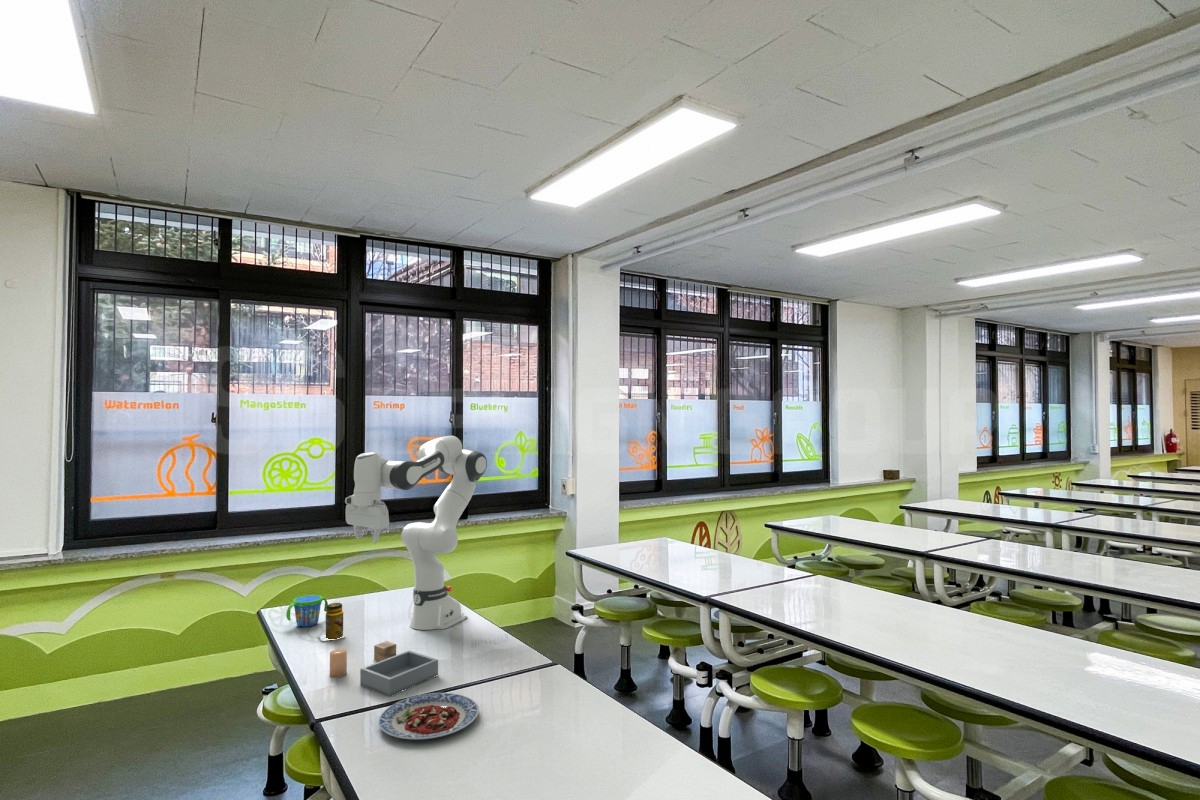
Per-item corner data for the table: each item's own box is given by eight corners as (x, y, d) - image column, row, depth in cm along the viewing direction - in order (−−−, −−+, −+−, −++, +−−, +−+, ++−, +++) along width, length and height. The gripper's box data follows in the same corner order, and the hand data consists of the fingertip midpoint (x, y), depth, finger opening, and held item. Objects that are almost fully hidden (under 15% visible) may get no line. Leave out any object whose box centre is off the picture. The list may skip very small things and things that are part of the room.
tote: (409, 665, 209) (409, 650, 209) (438, 675, 201) (438, 659, 201) (360, 685, 194) (360, 668, 194) (389, 696, 186) (389, 679, 186)
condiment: (346, 638, 235) (346, 605, 235) (321, 643, 230) (321, 609, 230) (341, 632, 241) (341, 600, 241) (317, 637, 236) (317, 604, 236)
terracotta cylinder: (340, 669, 206) (340, 647, 206) (350, 673, 203) (350, 651, 203) (326, 675, 202) (326, 652, 202) (335, 679, 199) (335, 656, 199)
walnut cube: (386, 655, 218) (386, 641, 218) (396, 659, 215) (396, 644, 215) (374, 660, 214) (374, 645, 214) (383, 663, 211) (383, 648, 211)
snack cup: (322, 617, 259) (322, 591, 259) (333, 623, 252) (333, 597, 252) (281, 626, 248) (281, 599, 248) (291, 632, 241) (291, 605, 241)
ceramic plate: (495, 708, 179) (495, 697, 179) (444, 754, 155) (444, 742, 155) (417, 695, 188) (417, 684, 188) (357, 737, 163) (357, 725, 163)
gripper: (393, 500, 219) (393, 541, 219) (358, 496, 231) (357, 535, 230) (377, 503, 214) (377, 544, 213) (342, 498, 226) (342, 537, 225)
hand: (367, 539), depth 222 cm, fingers open, 8 cm apart
